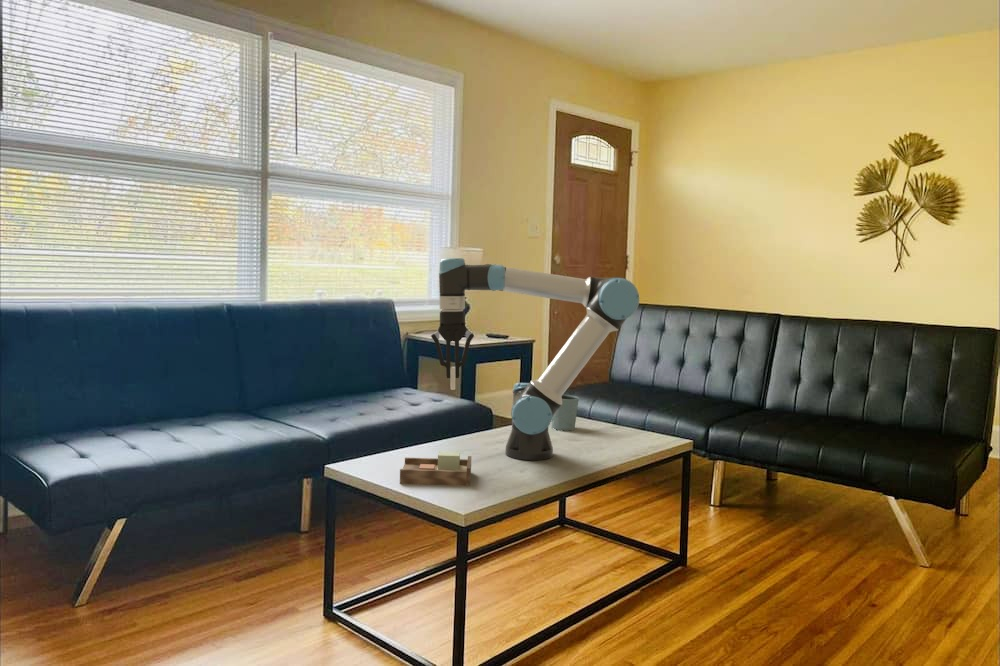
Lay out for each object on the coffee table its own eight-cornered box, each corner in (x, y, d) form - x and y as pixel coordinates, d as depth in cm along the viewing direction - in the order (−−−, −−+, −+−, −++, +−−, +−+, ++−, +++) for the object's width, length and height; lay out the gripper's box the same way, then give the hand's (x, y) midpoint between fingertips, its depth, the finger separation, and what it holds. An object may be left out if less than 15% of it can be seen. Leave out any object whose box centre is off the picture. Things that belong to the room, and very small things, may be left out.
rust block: (434, 478, 215) (434, 464, 215) (433, 482, 211) (433, 468, 211) (420, 478, 215) (420, 464, 214) (418, 482, 211) (419, 467, 210)
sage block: (459, 465, 220) (460, 452, 220) (458, 470, 216) (459, 456, 216) (438, 465, 220) (438, 451, 220) (437, 469, 216) (437, 455, 216)
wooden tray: (470, 473, 222) (471, 456, 222) (469, 486, 209) (470, 468, 209) (404, 471, 222) (405, 454, 221) (399, 484, 209) (400, 466, 209)
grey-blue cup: (546, 426, 289) (547, 394, 288) (571, 425, 292) (572, 393, 291) (556, 432, 280) (557, 399, 279) (581, 431, 283) (583, 398, 282)
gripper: (430, 311, 225) (431, 391, 227) (474, 311, 226) (475, 390, 228) (430, 309, 232) (431, 387, 235) (473, 309, 233) (474, 386, 236)
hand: (452, 388), depth 231 cm, fingers closed
